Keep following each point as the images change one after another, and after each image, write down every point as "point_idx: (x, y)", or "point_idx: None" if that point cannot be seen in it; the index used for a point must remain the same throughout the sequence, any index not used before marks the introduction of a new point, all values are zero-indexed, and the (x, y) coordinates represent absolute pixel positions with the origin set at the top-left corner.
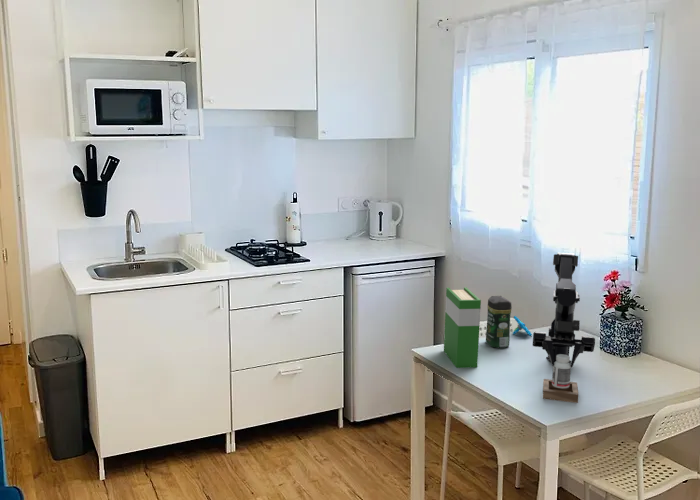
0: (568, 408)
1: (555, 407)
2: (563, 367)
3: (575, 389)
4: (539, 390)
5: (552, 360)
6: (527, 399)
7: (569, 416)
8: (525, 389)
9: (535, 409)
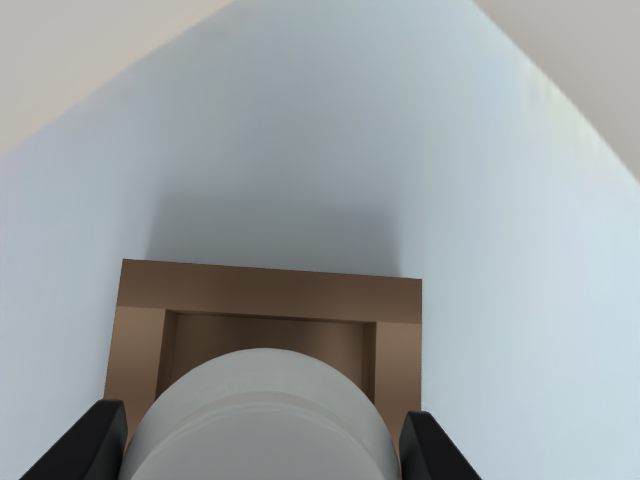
0: (228, 150)
1: (318, 148)
2: (255, 350)
3: (128, 386)
4: None
5: (448, 458)
6: (507, 247)
7: (237, 24)
8: (534, 452)
9: (449, 91)
